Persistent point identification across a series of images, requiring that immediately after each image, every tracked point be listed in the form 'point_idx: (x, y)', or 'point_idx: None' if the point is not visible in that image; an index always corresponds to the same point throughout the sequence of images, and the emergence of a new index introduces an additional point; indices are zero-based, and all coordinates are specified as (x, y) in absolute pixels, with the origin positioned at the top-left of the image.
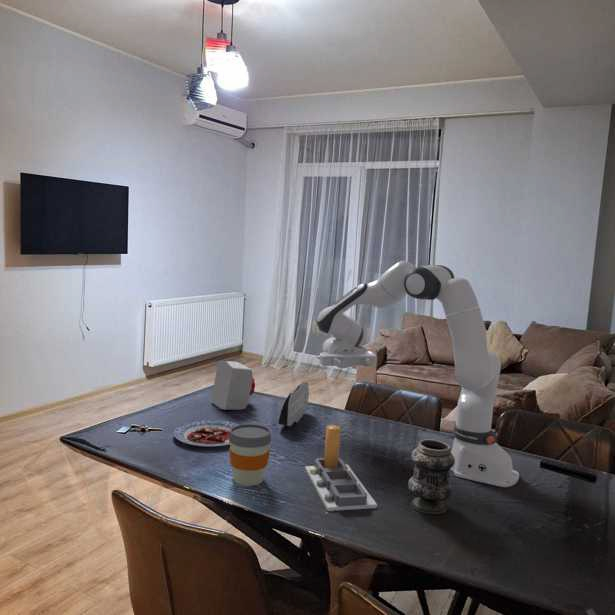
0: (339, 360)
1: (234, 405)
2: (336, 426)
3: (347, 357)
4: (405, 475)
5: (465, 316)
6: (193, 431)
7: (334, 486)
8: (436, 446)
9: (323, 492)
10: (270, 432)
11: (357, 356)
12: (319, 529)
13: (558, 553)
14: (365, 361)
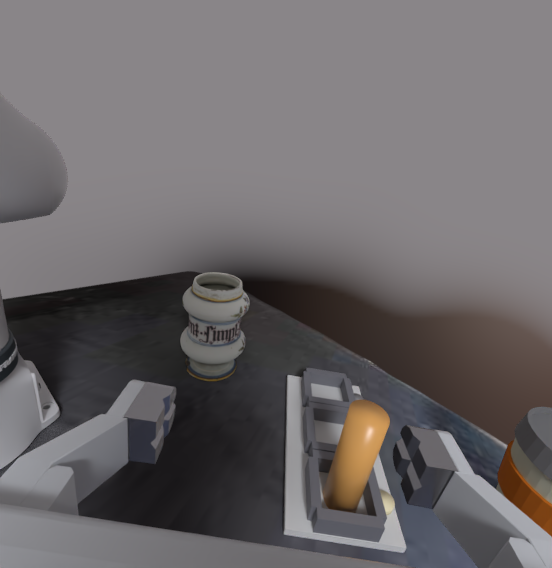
0: (457, 469)
1: None
2: (360, 419)
3: (354, 564)
4: (164, 451)
5: None
6: None
7: (349, 398)
8: (198, 296)
9: None
10: (530, 426)
11: (171, 530)
12: (369, 366)
13: (156, 292)
14: (172, 392)
